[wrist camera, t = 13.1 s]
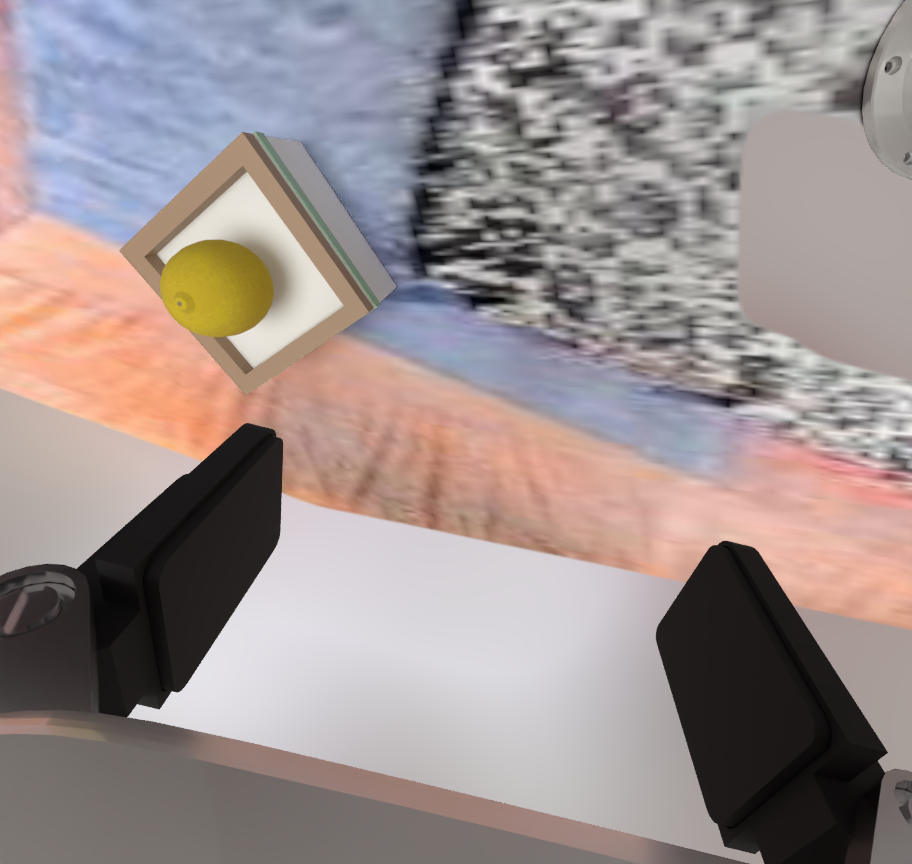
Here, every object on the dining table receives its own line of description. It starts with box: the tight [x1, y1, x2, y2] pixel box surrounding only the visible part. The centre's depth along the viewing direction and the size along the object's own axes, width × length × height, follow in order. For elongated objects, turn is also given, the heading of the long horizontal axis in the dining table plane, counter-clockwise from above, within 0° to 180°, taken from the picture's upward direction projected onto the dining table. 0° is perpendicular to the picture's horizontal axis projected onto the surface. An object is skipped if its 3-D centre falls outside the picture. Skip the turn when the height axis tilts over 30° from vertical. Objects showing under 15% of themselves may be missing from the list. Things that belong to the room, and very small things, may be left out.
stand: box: [119, 132, 397, 395], centre depth 34 cm, size 12×12×8 cm
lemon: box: [160, 240, 274, 337], centre depth 28 cm, size 6×6×8 cm
